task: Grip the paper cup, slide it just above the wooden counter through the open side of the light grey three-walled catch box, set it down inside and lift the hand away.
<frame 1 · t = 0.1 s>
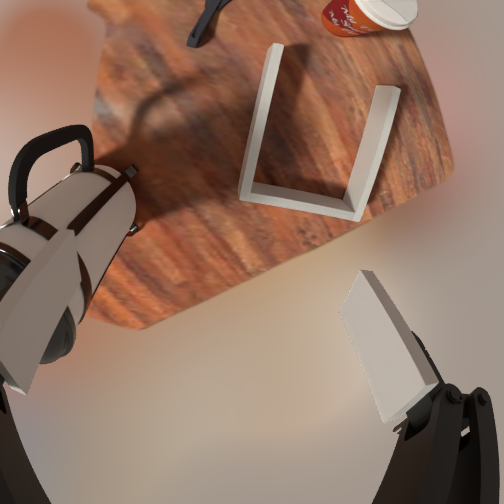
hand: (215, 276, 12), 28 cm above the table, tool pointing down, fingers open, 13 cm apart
paper cup: (339, 21, 26), on the table
catch box: (315, 125, 34), on the table
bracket: (214, 4, 24), on the table
coffee press: (103, 189, 36), on the table
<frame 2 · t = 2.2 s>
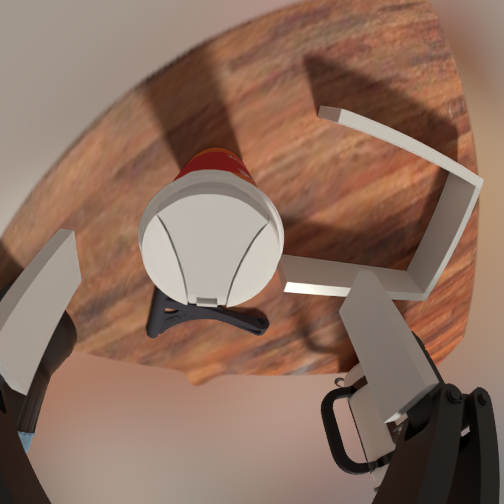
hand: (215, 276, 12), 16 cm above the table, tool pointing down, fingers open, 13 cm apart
paper cup: (215, 174, 25), on the table
catch box: (371, 207, 28), on the table
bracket: (212, 306, 34), on the table
coffee press: (362, 364, 46), on the table
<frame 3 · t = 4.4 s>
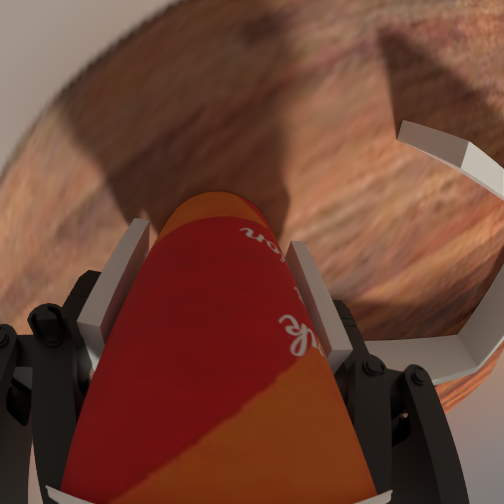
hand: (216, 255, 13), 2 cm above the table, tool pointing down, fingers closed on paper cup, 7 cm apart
paper cup: (217, 237, 15), on the table, touching gripper
catch box: (442, 272, 17), on the table
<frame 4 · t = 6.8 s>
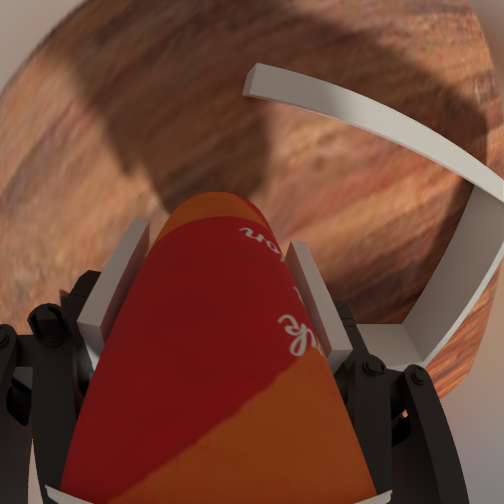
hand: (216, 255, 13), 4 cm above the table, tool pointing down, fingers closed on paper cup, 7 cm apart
paper cup: (217, 237, 15), point 2 cm above the table, touching gripper
catch box: (349, 244, 18), on the table
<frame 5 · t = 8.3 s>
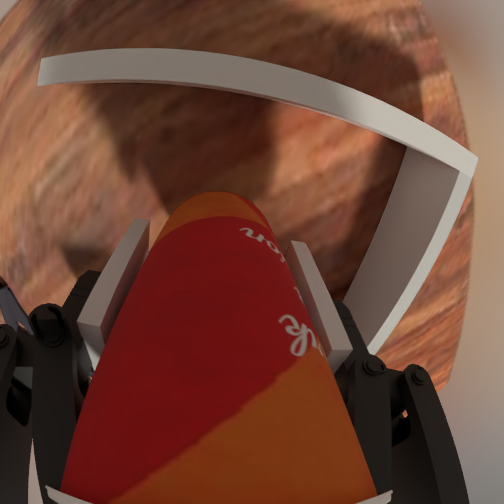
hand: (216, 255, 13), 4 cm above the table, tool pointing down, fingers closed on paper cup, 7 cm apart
paper cup: (217, 237, 15), point 2 cm above the table, touching gripper
catch box: (223, 223, 16), on the table
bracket: (65, 346, 23), on the table
when the fingers open (2 cm above the table, at t = 9.6 s): paper cup stays where it is, on the table.
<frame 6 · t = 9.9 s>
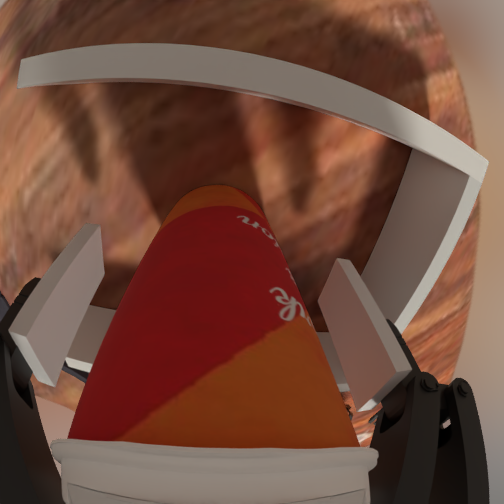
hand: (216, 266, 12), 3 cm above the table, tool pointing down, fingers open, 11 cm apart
paper cup: (216, 228, 15), on the table
catch box: (217, 230, 15), on the table
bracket: (59, 352, 22), on the table
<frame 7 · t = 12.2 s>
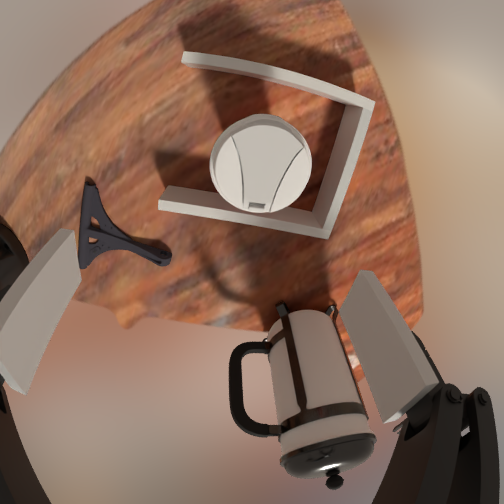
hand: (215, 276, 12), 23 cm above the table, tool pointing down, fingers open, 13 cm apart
paper cup: (251, 139, 31), on the table
catch box: (251, 139, 30), on the table
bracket: (125, 238, 37), on the table
coffee press: (291, 325, 48), on the table
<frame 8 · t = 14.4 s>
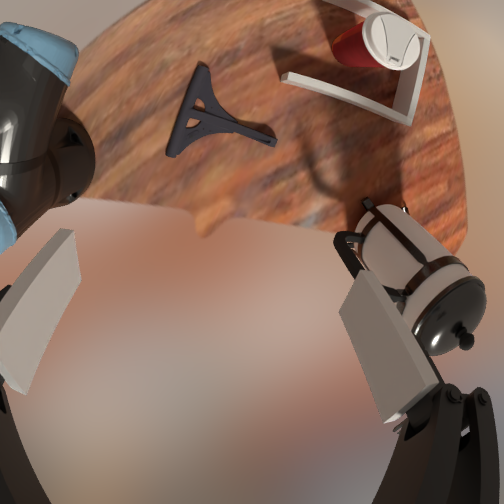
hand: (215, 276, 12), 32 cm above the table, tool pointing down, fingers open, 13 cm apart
paper cup: (347, 50, 31), on the table
catch box: (348, 50, 31), on the table
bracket: (227, 124, 38), on the table
coffee press: (369, 228, 48), on the table
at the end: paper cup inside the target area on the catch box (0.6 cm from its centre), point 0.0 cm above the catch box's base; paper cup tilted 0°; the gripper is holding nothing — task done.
